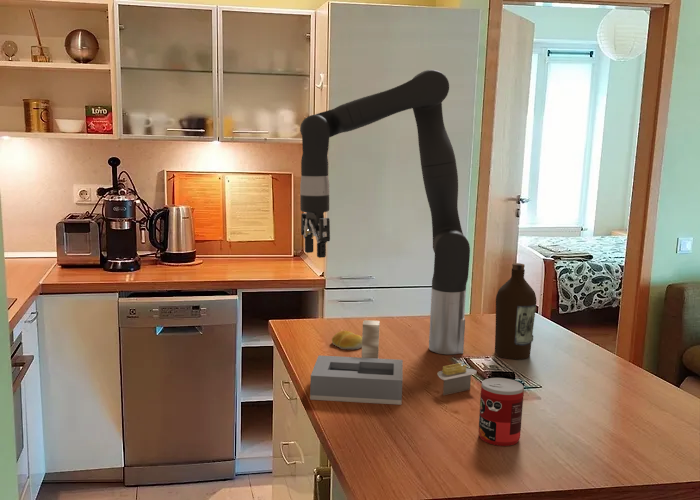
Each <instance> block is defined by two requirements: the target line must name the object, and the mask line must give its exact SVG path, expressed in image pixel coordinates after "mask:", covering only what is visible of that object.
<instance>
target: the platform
mask: <svg viewBox="0 0 700 500" xmlns="http://www.w3.org/2000/svg"><path fill="white" fill-rule="evenodd" d="M477 371H478V370H476V369H473V368H469V367H467V364H464V365H463V363H462V362H459V363H455V364H454V363H453V364H449V365H443V366H442V370H440V371H437V377H438V378H439V379H441V380H442V381H443V389H442V390H443V391H442V396H447V395H450V394H456V393H459V392H465V391H466V392H467V391H469V390H471V380H472V375H476V374H477Z"/></svg>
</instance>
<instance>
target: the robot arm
mask: <svg viewBox="0 0 700 500" xmlns="http://www.w3.org/2000/svg"><path fill="white" fill-rule="evenodd" d="M449 92H450V82H449V80H448V77H446V75H445V73H443V72H441V71H439V70H437V69H436V70H435V69H426V70H424V71H421V72H419V73H417V74H416V75H415V76H414V77H413V78H412V79H410V80H408V81H407V82H404V83H403V84H400V85H398V86H397V85H396V86H395V87H392V88H390V89H387V90H384V91H379V92H378V93H374V94H371V95H367V96H363V97H360V98H357V99H353V100H351V101H349V102H345V103H342V104H341V105H338V106H336V107H334V108H332V109H329V110H325V111H322V112H318V113H315V114H311V115H308V116H306V117H304V119H303V120H302V122H301V124H300V127H299V128H300V130H299V131H300V135H301V139H302V140H301V141H302V143H301V146H302V147H301V148H302V155H301V161H300V163H301V164H300V171H301V172H300V174H301V176H300V184H299V185H300V187H299V188H300V189H299V190H300V193H299V195H300V198H299V199H300V211H301V212H302V213H301V214H300V216H301V217H300V234H301V236H303V239H304V252H305V253H308V254H309V253H311V254H312V253H314V237H315V240H316V257H317V258H319V259H322V258H326V256H327V243H328V242H330V240H331V226H330V225H331V224H330V221H331V220H330V218H329V217H325V215H324V213H327V212H329V211H330V179H329V156H328V155H329V147H330V145H329V144H330V138H332V137H334V136H337V135H340V134H342V133H343V134H344V133H347V132H352V131H355V130H357V129H360V128H362V127H366V126H368V125H372V124H373V123H376V122H378V121H381V120H383V119H386V118H387V117H390V116H392V115H395V114H397V113H401V112H403V111H407V110H411V109H412V110H413V115H414V119H415V123H416V129H417V139H418V140H417V141H418V150H419V157H420V158H419V159H420V167H421V173H422V181H423V185H424V192H425V195H426V199H427V203H428V206H429V210H430V216H431V228H432V230H431V232H432V249H433V253H434V262H433V263H434V265H433V275H432V279H431V293H430V295H431V296H430V297H431V298H430V314H429V315H430V317H429V336H428V338H429V339H428V350H430V352H433V353H436V354H440V355H457V354H464V349H465V347H464V346H465V332H466V331H465V330H466V318H465V313H466V296H467V295H466V294H467V283H468V279H469V273H470V271H469V269H470V258H471V257H470V256H471V247H470V243H469V242H470V241H468V239H467V237H466V236H465V235H464V233H463V228H462V225H461V221H460V215H459V210H458V200H459V199H458V198H459V177H458V176H459V175H458V174H459V173H458V168H457V167H458V166H457V161H456V154H455V152H454V151H455V150H454V147H453V145H452V143H451V140H450V137H449V135H448V133H447V130H446V126H445V123H444V117H443V102H444V100H445V99H446V98H447V96H448V94H449Z"/></svg>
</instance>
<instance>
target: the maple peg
mask: <svg viewBox="0 0 700 500" xmlns="http://www.w3.org/2000/svg"><path fill="white" fill-rule="evenodd" d="M362 321H363V322H362V332H361V333H362V334H361V337H362V347H361V358H377V359H379V351H380V350H379V345H380V320H369V319H368V320H366V319H365V320H362Z"/></svg>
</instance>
